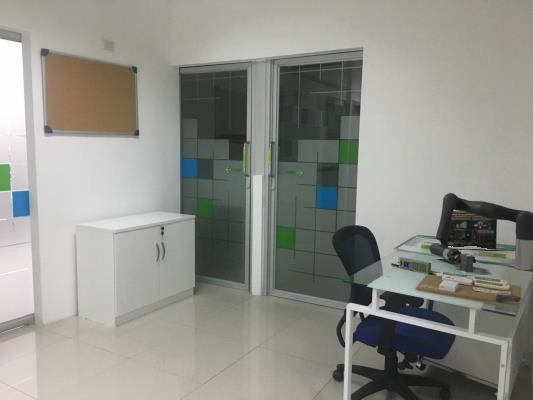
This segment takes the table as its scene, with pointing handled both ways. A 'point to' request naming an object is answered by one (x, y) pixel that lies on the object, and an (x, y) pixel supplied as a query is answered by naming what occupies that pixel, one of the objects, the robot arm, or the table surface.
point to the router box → (472, 230)
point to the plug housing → (466, 263)
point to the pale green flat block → (458, 269)
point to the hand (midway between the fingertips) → (467, 261)
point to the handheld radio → (414, 265)
